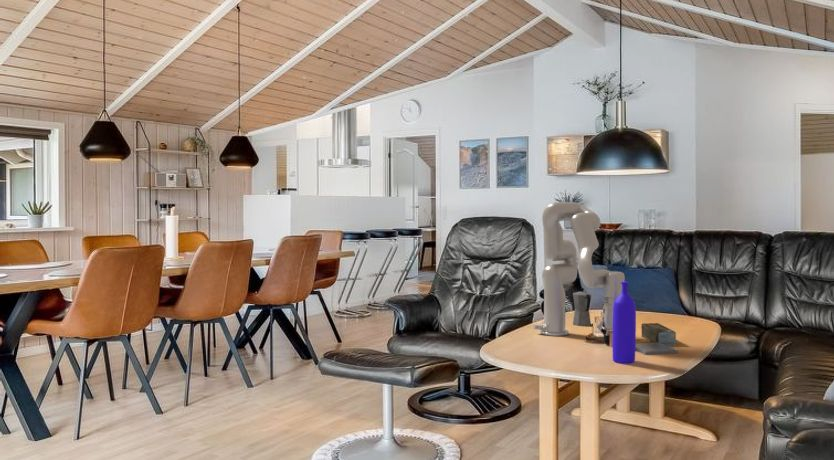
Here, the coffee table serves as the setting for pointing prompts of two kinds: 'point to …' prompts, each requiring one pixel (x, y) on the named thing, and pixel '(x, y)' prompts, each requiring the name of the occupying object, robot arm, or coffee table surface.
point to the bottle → (624, 327)
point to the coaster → (654, 348)
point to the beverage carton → (658, 333)
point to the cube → (610, 338)
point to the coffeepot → (582, 308)
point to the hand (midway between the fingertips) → (614, 343)
